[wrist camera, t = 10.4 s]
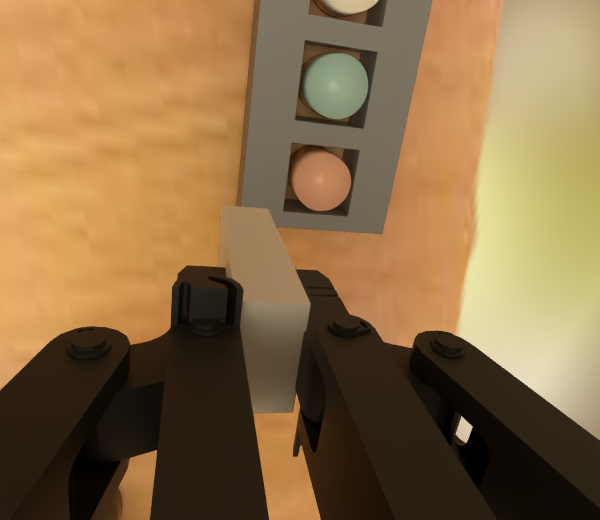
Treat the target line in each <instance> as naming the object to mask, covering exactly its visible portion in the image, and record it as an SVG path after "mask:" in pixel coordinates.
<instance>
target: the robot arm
mask: <svg viewBox="0 0 600 520" xmlns="http://www.w3.org/2000/svg"><path fill="white" fill-rule="evenodd" d="M296 393H297V396H298V400H299V403H300V411H299V417H298V423H297V428H296V434H295V440H294V446H293V457H296V456H298V454H299V448H300V446H301V445H302V447H303V451H304V455H305V459H306V463H307V467H308V471H309V475H310V478H311V482H312V486H313V490H314V494H315V498H316V502H317V506H318V510H319V513H320V517H321V520H600V440H598V439H597V438H596V437H594V436H593V435H592V434H590V433H589V432H587V431H586V430H585V429H583V428H582V427H581V426H580V425H578V424H577V423H576V422H574V421H573V420H572V419H570V418H569V417H567V416H566V415H565V414H564V413H562V412H561V411H560V410H558V409H557V408H556V407H554V406H553V405H552V404H550V403H549V402H548V401H546V400H545V399H544V398H542V397H541V396H539V395H538V394H537V393H536V392H534V391H533V390H532V389H530V388H529V387H528V386H526V385H525V384H524V383H522V382H521V381H520V380H518V379H517V378H516V377H514V376H513V375H512V374H510V373H509V372H508V371H506V370H505V369H504V368H502V367H501V366H500V365H498V364H497V363H496V362H494V361H493V360H492V359H490V358H489V357H488V356H486V355H485V354H484V353H483V352H481V351H480V350H479V349H477V348H476V347H475V346H473V345H471V344H470V343H469V342H467V341H465V340H464V339H462V338H460V337H457V336H455V335H453V334H452V333H449V332H443V331H425V332H422V333H419V334H418V335H417V336H416V337H415V340H414V343H413V347H412V348H408V347H403V346H398V345H393V344H389V343H385V342H383V340H382V339H381V337H380V336H379V334H378V333H377V331H376V329H375V328H374V327H373V326H372V325H371V324H370V323H369V322H367V321H365V320H363V319H361V318H359V317H356V316H353V315H350V314H349V313H348V311H347V309H346V308H345V306H344V304H343V302H342V301H341V299H340V297H338V294H337V292H336V290H335V289H334V287H333V285H332V283H331V282H330V280H329V279H328V278H327V277H326V276H324V275H323V274H321V273H320V272H319V271H317V270H299V269H295V268H294V266H293V263H292V261H291V259H290V257H289V254H288V252H287V250H286V248H285V245H284V243H283V241H282V239H281V236H280V234H279V232H278V230H277V228H276V225H275V223H274V221H273V219H272V216H271V214H270V212H269V210H268V209H266V208H253V207H240V206H227V205H222V210H221V223H220V236H219V249H218V262H217V267H207V266H186V267H185V268H184V269H183V270H181V271H180V272H179V273H178V278H177V281H175V283H174V285H173V286H172V307H171V328H170V329H169V330H168V332H167V333H165V334H164V335H162V336H161V337H159V338H156V339H154V340H151V341H148V342H143V343H139V344H133V345H130V342H129V340H128V338H127V336H126V335H124V334H123V333H121V332H120V331H118V330H114V329H110V328H107V327H95V326H91V327H85V328H84V327H82V328H77V329H74V330H71V331H68V332H65V333H63V334H60V335H59V336H57V337H56V338H54V339H53V340H52V341H50V342H49V343H48V344H47V345H46V346H45V347H44V348H43V349H42V350H41V351H40V352H39V353H38V354H37V355H36V356H35V357H34V358H33V359H32V360H31V361H30V362H29V363H28V364H27V365H26V366H25V367H24V368H23V369H22V370H21V371H20V372H19V373H18V374H17V375H15V376H14V377H13V378H12V379H11V380H10V381H9V382H8V383H7V384H6V385H5V386H4V387H3V388H2V389H1V390H0V520H120V515H121V509H122V502H121V497H120V493H119V491H118V487H119V485H120V483H121V480H122V478H123V476H124V474H125V472H126V470H127V468H128V464H129V460H130V458H131V457H134V456H138V455H141V454H144V453H148V452H151V451H154V450H157V459H156V468H155V478H154V487H153V496H152V506H151V515H150V520H269V516H268V509H267V502H266V496H265V489H264V483H263V476H262V469H261V463H260V456H259V450H258V443H257V436H256V430H255V423H254V416H253V413H287V412H293V409H294V403H295V397H296ZM461 416H462V417H463V418H464V419H465V420H466V421H467V422H468V423H470V424H471V425H472V426H473V428H472V431H471V434H470V436H469V439H468V441H467V443H465V442H463V441H462V440H460V439H459V438H458V437H457V436H456V435H455V434H456V431H457V428H458V425H459V422H460V419H461Z"/></svg>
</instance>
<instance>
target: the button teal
mask: <svg viewBox="0 0 600 520" xmlns="http://www.w3.org/2000/svg"><path fill="white" fill-rule="evenodd" d="M298 92H299V95H300V98H301V100H302V101H303V103H304V104H305V105H306V106H307V107H308V108H309V109H311V110H313V111H314V112H317V113H319V114H321V115H323V116H325V117H328V118H331V119H343V118H346V117H349V116H351V115H352V114H354V113H355V112H356V111H357V110H358V109H359V108H360V107H361V106H362V104H363V103H364V101H365V98H366V96H367V92H368V78H367V74H366V71H365V69H364V67H363V66H362V64H361V63H360V62H359V61H358V60H357V59H355V58H354V57H352V56H350V55H348V54H343V53H334V54H320V55H317V56H314V57H313V58H311V59H310V60H308V61H307V62H306V63H305V65H304V66H303V67H302V69H301V75H300V83H299V90H298Z"/></svg>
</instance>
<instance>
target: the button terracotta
mask: <svg viewBox="0 0 600 520" xmlns="http://www.w3.org/2000/svg"><path fill="white" fill-rule="evenodd" d="M287 180H288V183H289V185H290V187H291V188H292V189H293V191H294V192H295V194H296V195H297V197H298V198H299V199H300V201H301V202H302V203H303V204H304V205H305V206H306V207H308V208H310V209H312V210H316V211H327V210H330V209H333V208H335V207H337V206H338V205H339V204H341V203H342V202H343V201H344V199H345V198H346V196H347V195H348V193H349V190H350V186H351V176H350V172H349V170H348V168H347V166H346V165H345V163H344V162H343V161H342V160H340V159H339V158H338V157H336V156H335V155H333V154H332V153H331V152H329V151H328V150H326V149H325V148H323V147H320V146H307V147H304V148H301V149H300V150H298V151H297V152H296V153H295V154H294V155H293V156H292V157H291V159H290V161H289V169H288V176H287Z"/></svg>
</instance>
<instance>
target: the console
mask: <svg viewBox="0 0 600 520" xmlns="http://www.w3.org/2000/svg"><path fill="white" fill-rule="evenodd" d="M309 4H310V0H255V4H254V15H253V26H252V37H251V49H250V60H249V71H248V82H247V94H246V105H245V116H244V127H243V138H242V150H241V161H240V172H239V183H238V195H237V206H240V207H253V208H266V209H268V210H269V212H270V214H271V216H272V219H273V221H274V223H275V225H276V227H285V228H300V229H314V230H328V231H343V232H357V233H372V234H382V233H383V228H384V224H385V219H386V214H387V210H388V205H389V200H390V196H391V191H392V186H393V182H394V177H395V172H396V168H397V163H398V158H399V154H400V149H401V144H402V140H403V135H404V130H405V126H406V121H407V116H408V112H409V107H410V102H411V98H412V93H413V88H414V84H415V79H416V74H417V70H418V65H419V60H420V56H421V51H422V46H423V42H424V37H425V32H426V28H427V23H428V18H429V14H430V9H431V4H432V0H378V2H377V3H376V4H375V5H373V6H372V7H371V8H369V9H368V12H367V18H366V24H361V23H355V22H350V21H344V20H339V19H333V18H327V17H322V16H316V15H311V14H308V12H309ZM304 44H311V45H317V46H323V47H329V48H336V49H342V50H348V51H354V52H360V59H359V62H360V63H361V64H362V66H363V67H364V69H365V71H366V74H367V78H368V92H367V96H366V98H365V101H364V103H363V104H362V106H361V107H360V108H359V109H358V110H357V111H356V112H355V113H354V114H352V115H351V116H350V118H349V122H341V121H334V120H326V119H318V118H310V117H302V116H295V114H296V106H297V98H298V90H299V83H300V75H301V67H302V59H303V51H304ZM292 142H293V143H301V144H310V145H319V146H328V147H337V148H344V153H343V159H342V161H343V162H344V163H345V165H346V166H347V168H348V170H349V172H350V176H351V186H350V190H349V193H348V195H347V196H346V198H345V199H344V201H343V202H342V203H341V204H339V205H338V206H337V207H335V208H333V209H330V210H327V211H316V210H312V209H310V208H308V207H306V206H305V205H304V204H303V203H302V202H301V201H300V200H294V199H285V192H286V184H287V176H288V169H289V161H290V153H291V145H292Z"/></svg>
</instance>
